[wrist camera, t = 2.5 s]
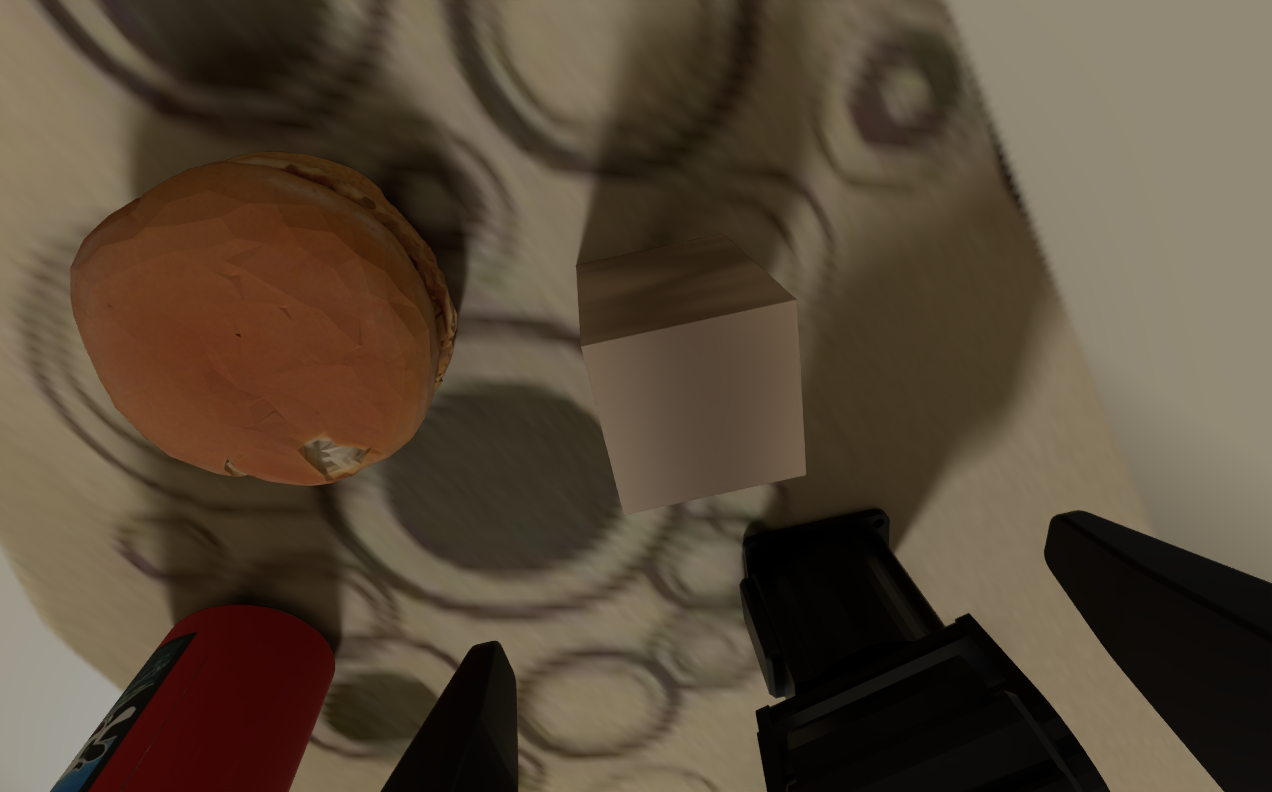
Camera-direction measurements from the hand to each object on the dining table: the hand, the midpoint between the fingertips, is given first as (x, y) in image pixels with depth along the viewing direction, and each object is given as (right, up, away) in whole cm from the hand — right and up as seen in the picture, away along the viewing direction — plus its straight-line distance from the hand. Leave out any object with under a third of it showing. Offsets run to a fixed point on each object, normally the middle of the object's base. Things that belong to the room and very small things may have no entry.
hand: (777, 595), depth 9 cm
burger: (-13, +6, +10) cm, 17 cm away
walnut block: (-1, +6, +11) cm, 13 cm away
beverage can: (-19, -8, +16) cm, 26 cm away
